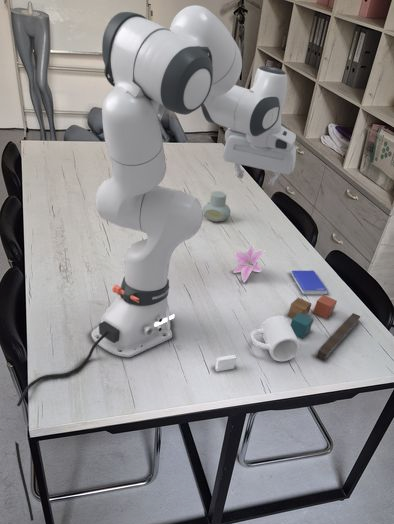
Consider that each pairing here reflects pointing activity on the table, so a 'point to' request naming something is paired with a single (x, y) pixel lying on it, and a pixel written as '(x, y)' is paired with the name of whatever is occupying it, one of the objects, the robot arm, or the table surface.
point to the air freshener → (217, 207)
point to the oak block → (299, 307)
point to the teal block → (301, 325)
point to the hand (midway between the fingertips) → (255, 180)
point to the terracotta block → (324, 306)
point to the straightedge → (338, 337)
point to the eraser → (225, 363)
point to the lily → (248, 262)
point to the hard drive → (309, 282)
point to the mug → (277, 338)
